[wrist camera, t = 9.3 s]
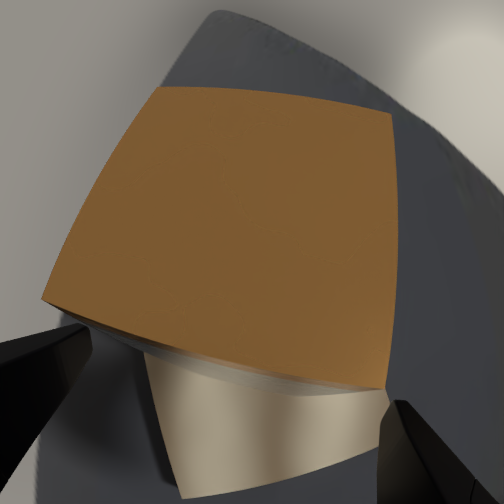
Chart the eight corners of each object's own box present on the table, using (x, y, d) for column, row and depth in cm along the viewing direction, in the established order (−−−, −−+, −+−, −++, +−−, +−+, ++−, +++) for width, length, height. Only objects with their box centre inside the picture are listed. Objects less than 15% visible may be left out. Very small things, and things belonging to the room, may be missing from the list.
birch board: (188, 492, 14) (182, 499, 13) (139, 276, 20) (130, 267, 19) (390, 434, 15) (399, 436, 14) (315, 228, 21) (318, 216, 20)
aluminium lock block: (295, 397, 15) (384, 389, 3) (201, 375, 16) (41, 299, 4) (314, 306, 17) (390, 113, 5) (225, 289, 18) (157, 87, 6)
